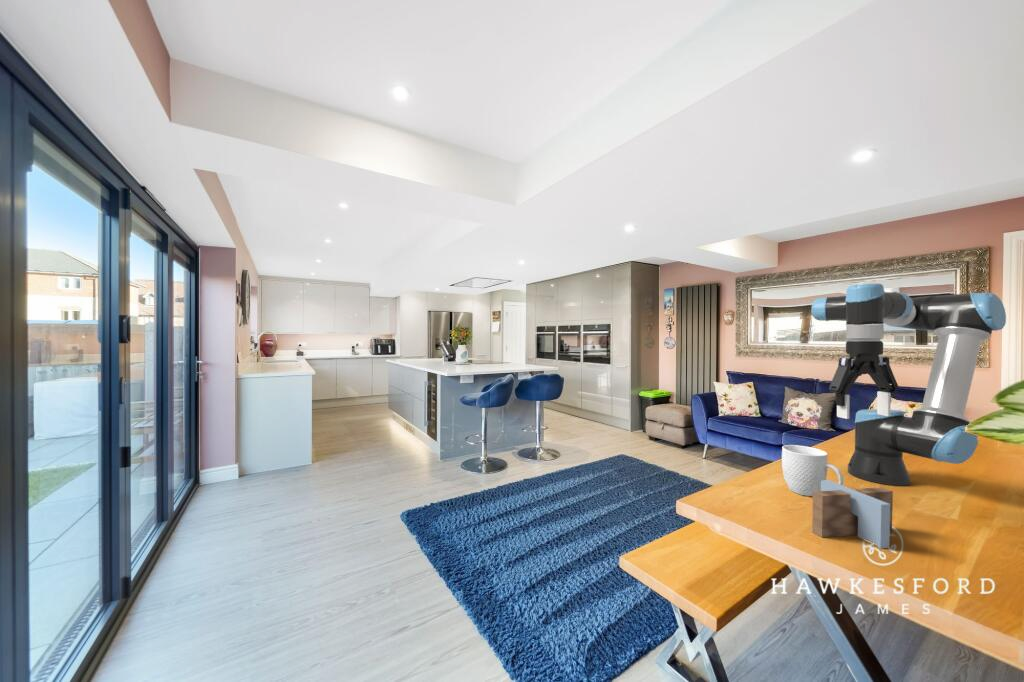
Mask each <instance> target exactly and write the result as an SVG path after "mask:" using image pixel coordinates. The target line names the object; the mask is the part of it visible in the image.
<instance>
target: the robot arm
mask: <svg viewBox="0 0 1024 682" xmlns="http://www.w3.org/2000/svg"><path fill="white" fill-rule="evenodd" d="M845 294H846V295H841V296H840V295H839V296H826V297H819V298H817V299H815V300H814V301H813V302H812V304H811V310H810V311H811V315H812V317H813V319H815V320H816V321H823V322H824V321H826V322H830V321H839V322H840V321H843V322H845V327H846V331H845V332H846V333H845V338H846V339H847V341H846V342H845V353H846V355H849V358H845V357H840V358H839V359H838V365H837V367H836V370H835V373H834V376H833V378H832V380H831V382H830V384H829V387H828V391H829V392H831V393H832V394H835V404H836V417H837V418H841V419H845V420H848V419H849V420H850V394H848V392H849V391H850V390H851V388H852V386H853V385H854V383H855V382H857V379H858V378H859V377H861V376H862V375H869V377H870V378H871V379H872V381H873V382H874V383H875V385H876V386H877V388H878V390H879V391H877V393H876V395H877V396H876V397H877V398H876V399H877V401H876V406H877V407H876V408H877V409H875V408H874V409H873V408H872V409H871V408H869V409H859V410H858V411H857V412H856V413H855V417H854V418H855V420H854V452H853V453H852V456H851V458H850V459H849V462H848V464H847V473H848V474H850V475H852V476H854V477H855V478H859V479H862V480H865V481H868V482H872V483H877V484H882V485H883V484H884V485H888V486H901V487H902V486H908V485H910V483H911V477H910V474H909V472H908V469H907V467H906V464H905V462H904V459H903V457H904V455H903V453H905V454H908V455H912V456H915V457H921V458H924V459H926V458H927V459H930V460H934V461H936V462H944V463H948V464H953V465H955V464H957V465H958V464H962V463H965V462H967V461H968V460H970V458H971V457H972V456H973V455H974V453H975V451H976V450H977V446H978V443H979V439H978V438H979V435H978V436H976V435H973V434H970V433H967V432H965V427H966V425H968V424H969V423H970V424H971V421H970V420H969V419H968V418H967V417H966V416H965V412H966V408H967V405H968V399H969V395H970V391H971V387H972V384H973V383H972V382H973V378H974V374H975V370H976V365H977V361H978V357H979V353H980V348H981V345H982V342H984V341H986V340H989V339H990V338H991V337H992V332H993V331H994V332H995V331H996V332H997V331H1001V330H1002V329H1004V327H1005V325H1006V323H1007V315H1006V309H1005V306H1004V303H1003V302H1002V300H1001V298H1000V297H999V296H998V295H996V294H995V293H993V292H970V293H969V292H968V293H958V294H945V295H944V294H943V295H927V296H919V297H918V296H917V297H912V298H911V296H909V295H908V294H906V293H903V292H897V291H892V292H891V291H889V292H885V290H884V285H883V284H882V283H863V284H862V283H861V284H860V283H859V284H853V285H850V286H848V287H847V289H846V293H845ZM884 325H886V326H889V327H894V328H903V329H909V330H910V329H911V330H918V331H933V334H934V335H935V336H937V338H938V340H937V345H936V349H935V352H934V357H933V360H932V365H931V368H930V373H929V377H928V381H927V384H926V389H925V393H924V396H923V401H922V405H921V407H920V408H916V409H914V410H913V412H912V415H911V417H910V416H905V413H904V411H902V410H897V409H891V403H892V393H893V394H894V393H897V390H898V391H899V385H898V383H897V379H896V377H895V375H894V372H893V370H892V367H891V365H890V358H889V357H887V356H881V355H883V354H884V342H883V341H882V340H883V339H884V337H885V336H884V334H885V333H884V329H885V328H884Z"/></svg>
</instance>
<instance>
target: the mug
mask: <svg viewBox="0 0 1024 682" xmlns="http://www.w3.org/2000/svg"><path fill="white" fill-rule="evenodd" d="M781 448H782V449H781V467H782V468H781V469H782V475H783V478H784V481H785V484H786V485H787V487H788V488H789V490H790V491H792V493H795V494H797V495H801V496H804V497H805V496H806V497H813V492H818V491H821V481H823V480H827V475H828V468H829V469H831V470H833V471H834V472H835V473H836V476H837V478H838V482H837V483H838V484H840V485H843V486H844V476H843V474H842V471H841V470H840V469H839V468H838V467H836V465H833V464H832V463H828V452H826V451H825V450H822V449H819V448H815V447H811V446H806V445H797V444H786V445H783V446H782V447H781Z"/></svg>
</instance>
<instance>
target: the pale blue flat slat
mask: <svg viewBox="0 0 1024 682" xmlns="http://www.w3.org/2000/svg"><path fill="white" fill-rule="evenodd" d="M838 483H839V482H836V481H832V480H829V479H826V480H823V481H821V491H834V490H841V491H844V492H846V493H849V494H851V497H850V513H852V514H854V515H856V516H858V534H857V538H859V537H860V538H859V539H861V538H862V539H861V540H863V539H865V540H867V541H870V542H872V543H874V544H875V545H877V546H878V547H879V548H878V547H877V548H878V549H890V504H888V503H886V502H883V501H881V500H878V499H876V498H873V497H871V496H868V495H866V494H863V493H860V492H858V491H855V489H853V488H850V487H848V486H845V485H844V484H843V485H840V484H838ZM865 540H864V541H865ZM867 541H866V542H867Z"/></svg>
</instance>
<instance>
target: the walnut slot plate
mask: <svg viewBox="0 0 1024 682" xmlns="http://www.w3.org/2000/svg"><path fill="white" fill-rule="evenodd" d="M854 490H855V491H858V492H860V493H863V494H866V495H868V496H871V497H873V498H876V499H878V500H881V501H883V502H886V503H888V504H890V531H891V532H893V503H894V502H893V498H894V496H893V494H894V491H893V490H890V489H888V488H885V487H882V486H881V487H867V488H855V489H854ZM850 497H851V494H849V493H846V492H844V491H841V490H834V491H818V492H813V496H812V524H811V525H812V530H811V532H812V533H813V534H815V535H816V536H818V537H820V538H832V537H833V538H834V537H843V536H845V535H846V536H856V534H857V535H858V516H856V515H854V514H852V513H850Z"/></svg>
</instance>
